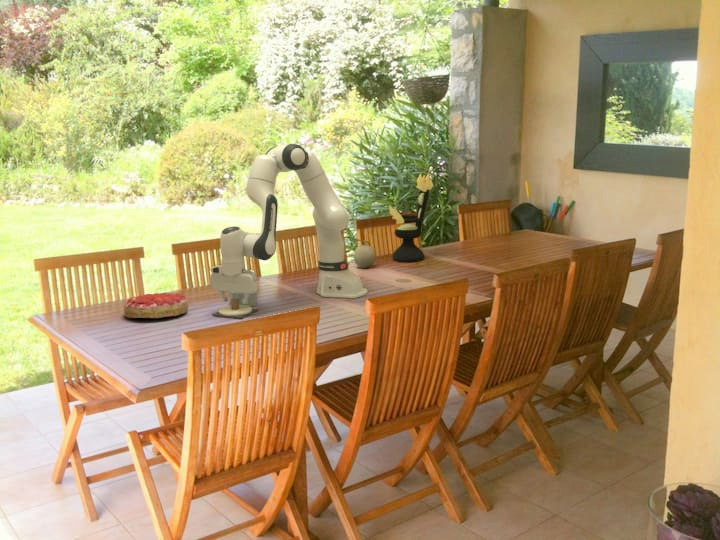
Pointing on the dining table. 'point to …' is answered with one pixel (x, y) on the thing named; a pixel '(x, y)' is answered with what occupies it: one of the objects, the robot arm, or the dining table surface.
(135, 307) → the cake
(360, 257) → the fruit
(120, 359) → the dining table surface
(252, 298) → the bowl
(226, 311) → the lid
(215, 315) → the mat
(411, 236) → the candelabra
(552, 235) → the dining table surface
